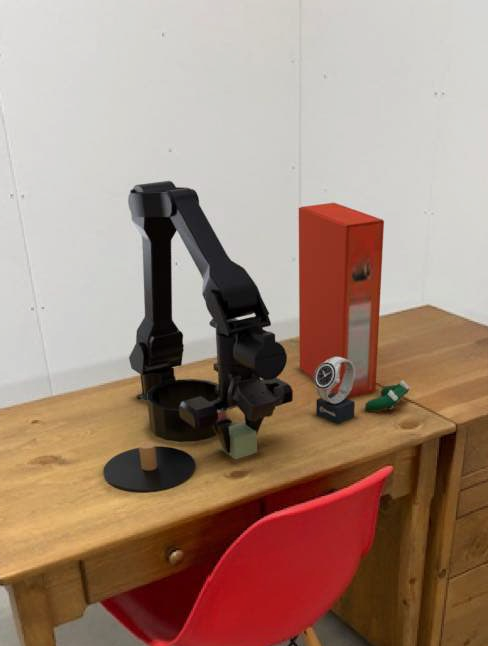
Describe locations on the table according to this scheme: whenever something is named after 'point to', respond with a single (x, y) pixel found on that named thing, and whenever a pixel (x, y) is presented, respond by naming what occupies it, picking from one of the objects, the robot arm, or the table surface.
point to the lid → (149, 468)
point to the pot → (166, 409)
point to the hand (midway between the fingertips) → (239, 448)
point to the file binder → (340, 291)
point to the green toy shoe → (388, 397)
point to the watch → (334, 404)
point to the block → (242, 440)
